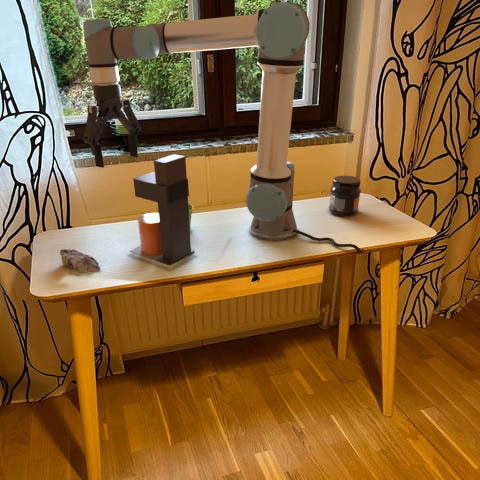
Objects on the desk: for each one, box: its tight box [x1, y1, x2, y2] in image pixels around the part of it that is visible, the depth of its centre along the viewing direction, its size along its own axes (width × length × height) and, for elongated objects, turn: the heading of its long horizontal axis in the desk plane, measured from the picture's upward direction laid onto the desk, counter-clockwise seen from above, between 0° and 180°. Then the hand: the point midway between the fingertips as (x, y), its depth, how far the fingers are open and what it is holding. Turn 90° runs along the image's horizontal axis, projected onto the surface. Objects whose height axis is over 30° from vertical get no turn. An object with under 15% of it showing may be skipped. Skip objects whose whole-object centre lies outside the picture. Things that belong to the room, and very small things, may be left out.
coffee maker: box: [128, 153, 195, 267], centre depth 144 cm, size 16×11×30 cm, turn 54°
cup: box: [137, 212, 162, 255], centre depth 150 cm, size 8×8×10 cm
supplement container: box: [328, 175, 362, 217], centre depth 180 cm, size 10×10×12 cm
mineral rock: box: [59, 248, 101, 274], centre depth 144 cm, size 15×8×4 cm, turn 36°
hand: (117, 161), depth 151 cm, fingers open, 13 cm apart
